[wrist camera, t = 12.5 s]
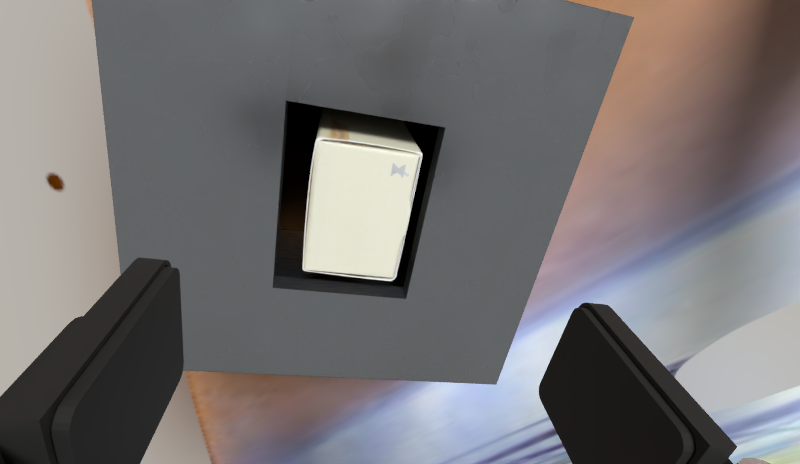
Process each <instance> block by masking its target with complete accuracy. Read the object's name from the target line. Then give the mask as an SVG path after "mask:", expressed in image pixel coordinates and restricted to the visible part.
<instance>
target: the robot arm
mask: <svg viewBox="0 0 800 464" xmlns="http://www.w3.org/2000/svg"><path fill="white" fill-rule="evenodd" d="M183 366H184V356H183V334H182V312H181V290H180V273H179V269H178V268H172V267H171V264H170V262H169V261H168V260H161V259H151V258H141V257H140V258H137V259H135V260H134V261H133V263H132V264H131V265H130V266H129V267H128V268H127V269H126V270H125V271H124V272H123V274H122V275H121V276H120V277H119V278H118V279H117V280H116V281H115V282H114V283H113V285H112V286H111V287H110V288H109V289H108V290H107V291H106V292H105V293H104V295H103V296H102V297H101V298H100V299H99V300H98V301H97V302H96V303H95V304H94V305H93V307H92V308H91V309H90V310H89V311H88V312H87V313H86V314H85V315H84V316H83V317H82V316H81V317H78V318H75V319H74V320H73V321H72V322H70V323H69V324H68V325H67V326H66V327H65V328H64V329H63V330H62V332H61V333H60V334H59V335H58V336H57V337H56V338H55V339H54V340H53V341H52V342H51V343H50V344H49V346H48V347H47V348H46V349H45V350H44V351H43V352H42V353H41V354H40V355H39V356H38V357H37V358H36V359H35V360H34V361H33V363H32V364H31V365H30V366H29V367H28V368H27V369H26V370H25V371H24V372H23V373H22V374H21V375H20V376H19V377H18V379H17V380H16V381H15V382H14V383H13V384H12V385H11V386H10V387H9V388H8V389H7V390H6V391H5V392H4V394H3V395H2V396H1V397H0V464H140V462H141V460H142V458H143V456H144V454H145V452H146V450H147V448H148V446H149V443H150V441H151V439H152V437H153V435H154V433H155V431H156V429H157V427H158V425H159V422H160V420H161V418H162V416H163V414H164V412H165V410H166V408H167V406H168V404H169V402H170V400H171V398H172V395H173V393H174V391H175V389H176V387H177V385H178V383H179V381H180V378H181V375H182V372H183ZM539 396H540V399H541V402H542V404H543V406H544V408H545V410H546V412H547V414H548V416H549V418H550V420H551V422H552V424H553V426H554V428H555V430H556V432H557V434H558V435H559V437H560V439H561V441H562V443H563V445H564V447H565V449H566V451H567V453H568V455H569V457H570V459H571V461H572V463H573V464H733V463H732V462H731V461H730V460H729V459H728V458H729V456H730V455H731V454H732V453H733V451H734V450H735V449H736V448H737V446H736V445H735V444H734V443H733V442H732V441H731V439H730V438H729V437H728V436H727V435H726V434H725V433H724V432H723V431H722V430H721V428H720V427H719V426H718V425H717V424H716V423H715V422H714V421H713V420H712V419H711V417H710V416H709V415H708V414H707V413H706V412H705V411H704V410H703V409H702V408H701V407H700V405H699V404H698V403H697V402H696V401H695V400H694V399H693V398H692V397H691V396H690V394H689V393H688V392H687V391H686V390H685V389H684V388H683V387H682V386H681V385H680V383H679V382H678V381H677V380H676V379H675V378H674V377H673V376H672V375H671V373H670V372H669V371H668V370H667V369H666V368H665V367H664V366H663V365H662V363H661V362H660V361H659V360H658V359H657V358H656V357H655V356H654V355H653V354H652V352H651V351H650V350H649V349H648V348H647V347H646V346H645V345H644V344H643V343H642V341H641V340H640V339H639V338H638V337H637V336H636V335H635V334H634V333H633V332H632V330H631V329H630V328H629V327H628V326H627V325H626V324H625V323H624V322H623V321H622V319H621V318H620V317H619V316H618V315H617V314H616V313H615V312H614V311H613V310H612V308H610V307H609V306H608V305H603V304H593V303H583V304H581V305H580V306H579V308H576V309H574V311H573V312H572V314H571V316H570V319H569V321H568V323H567V325H566V328H565V330H564V332H563V334H562V336H561V339H560V341H559V343H558V345H557V347H556V350H555V352H554V354H553V356H552V359H551V361H550V363H549V365H548V367H547V370H546V372H545V374H544V376H543V379H542V381H541V383H540V386H539ZM737 464H770V463H768V462H765V461H763V460H758V459H754V458H744V459H742V460H741V461H739V462H738V463H737Z"/></svg>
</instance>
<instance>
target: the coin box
mask: <svg viewBox="0 0 800 464" xmlns="http://www.w3.org/2000/svg"><path fill="white" fill-rule="evenodd" d="M92 8H93V17H94V27H95V36H96V46H97V55H98V64H99V73H100V83H101V93H102V101H103V111H104V121H105V130H106V140H107V149H108V159H109V168H110V177H111V186H112V196H113V206H114V215H115V224H116V234H117V243H118V253H119V261H120V271H121V275H122V274H123V272H124V271H125V270H126V269H127V268H128V267H129V266H130V265H131V264H132V263H133V261H134V260H135V259H137V258H140V257H141V258H151V259H161V260H168V261H169V262H170V264H171V267H172V268H178V269H179V273H180V290H181V312H182V334H183V356H184V366H183V370H185V371H207V372H230V373H252V374H275V375H297V376H319V377H342V378H364V379H386V380H409V381H431V382H453V383H476V384H497V381H498V378H499V376H500V373H501V370H502V368H503V365H504V362H505V360H506V357H507V354H508V352H509V349H510V346H511V344H512V341H513V338H514V336H515V333H516V330H517V328H518V325H519V322H520V320H521V317H522V314H523V312H524V309H525V306H526V304H527V301H528V298H529V296H530V293H531V290H532V288H533V285H534V282H535V280H536V277H537V274H538V272H539V269H540V266H541V264H542V261H543V258H544V256H545V253H546V250H547V248H548V245H549V242H550V240H551V237H552V234H553V232H554V229H555V226H556V224H557V221H558V218H559V216H560V213H561V210H562V208H563V205H564V202H565V200H566V197H567V194H568V192H569V189H570V186H571V184H572V181H573V178H574V176H575V173H576V170H577V168H578V165H579V162H580V160H581V157H582V154H583V152H584V149H585V146H586V144H587V141H588V139H589V136H590V133H591V131H592V128H593V125H594V123H595V120H596V117H597V115H598V112H599V109H600V107H601V104H602V101H603V99H604V96H605V93H606V91H607V88H608V85H609V83H610V80H611V77H612V75H613V72H614V69H615V67H616V64H617V61H618V59H619V56H620V53H621V51H622V48H623V45H624V43H625V40H626V37H627V35H628V32H629V29H630V27H631V24H632V21H633V19H634V17H630V16H626V15H622V14H618V13H614V12H610V11H606V10H602V9H598V8H594V7H590V6H586V5H582V4H577V3H573V2H569V1H565V0H92ZM289 101H291V102H297V103H303V104H309V105H315V106H321V107H327V108H333V109H339V110H345V111H351V112H357V113H363V114H369V115H374V116H380V117H386V118H392V119H398V120H404V121H410V122H416V123H422V124H428V125H434V126H439V129H438V134H437V138H436V143H435V147H434V152H433V156H432V161H431V165H430V170H429V174H428V179H427V183H426V188H425V192H424V197H423V201H422V205H421V210H420V214H419V219H418V223H417V228H416V232H415V237H414V241H413V244H411V243H404V245H403V250H402V254H401V259H400V263H399V267H398V271H397V276H396V278H395V279H394V280H392V281H382V280H373V279H364V278H356V277H346V276H338V275H330V274H323V273H315V272H306V271H304V270H303V269H302V263H303V245H304V232H302V231H293V230H284V229H279V225H280V211H281V198H282V184H283V170H284V157H285V143H286V129H287V116H288V102H289Z"/></svg>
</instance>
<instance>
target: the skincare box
mask: <svg viewBox="0 0 800 464" xmlns="http://www.w3.org/2000/svg"><path fill="white" fill-rule="evenodd" d="M422 156H423V154H422V152H421V151H420V149H419V147H418V146H417V144H416V142H415V140H414V139H413V137H412V135H411V133H410V132H409V130H408V128H407V127H406V125H405V123H404V122H403V120H398V119H392V118H386V117H380V116H374V115H369V114H363V113H357V112H351V111H345V110H339V109H333V108H327V107H322V112H321V117H320V123H319V128H318V132H317V137H316V140H315V144H314V150H313V156H312V163H311V169H310V176H309V186H308V195H307V205H306V217H305V229H304V245H303V263H302V269H303V270H304V271H306V272H315V273H323V274H330V275H338V276H346V277H356V278H364V279H373V280H382V281H392V280H394V279H395V278H396V276H397V271H398V267H399V263H400V259H401V254H402V250H403V245H404V241H405V236H406V232H407V228H408V223H409V219H410V214H411V209H412V204H413V199H414V195H415V190H416V185H417V181H418V176H419V171H420V166H421V162H422Z"/></svg>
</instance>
